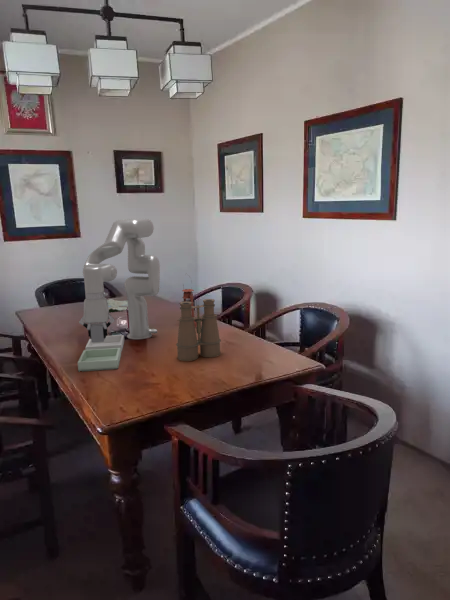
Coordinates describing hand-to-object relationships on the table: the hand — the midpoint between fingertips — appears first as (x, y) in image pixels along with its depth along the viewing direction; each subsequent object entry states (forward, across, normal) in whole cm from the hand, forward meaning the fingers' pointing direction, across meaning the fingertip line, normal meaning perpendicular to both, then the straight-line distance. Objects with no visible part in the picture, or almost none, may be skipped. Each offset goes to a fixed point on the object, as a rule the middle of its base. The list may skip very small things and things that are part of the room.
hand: (98, 337), depth 188 cm
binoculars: (+12, -43, -2) cm, 45 cm away
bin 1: (+12, 0, -20) cm, 23 cm away
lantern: (+12, -42, -52) cm, 68 cm away
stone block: (+1, 0, 0) cm, 1 cm away
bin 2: (+12, 0, 0) cm, 12 cm away
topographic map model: (+12, +2, -110) cm, 110 cm away
